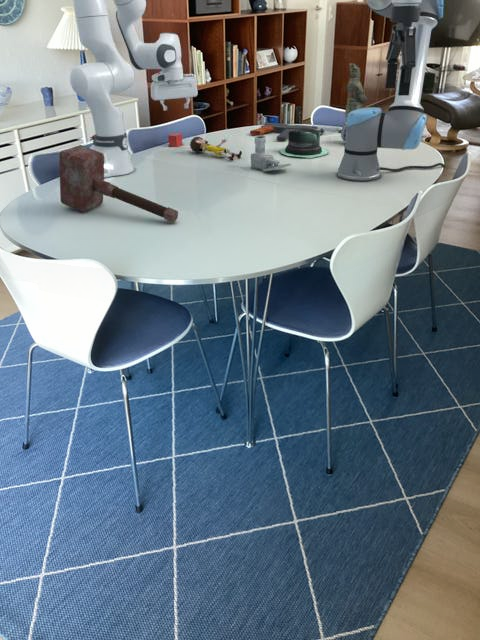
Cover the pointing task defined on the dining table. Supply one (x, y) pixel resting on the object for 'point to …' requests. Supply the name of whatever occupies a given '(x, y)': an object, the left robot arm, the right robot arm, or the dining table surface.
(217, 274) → the dining table surface
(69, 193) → the sledgehammer
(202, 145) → the figurine
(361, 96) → the statue
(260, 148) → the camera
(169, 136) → the block
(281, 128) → the submachine gun
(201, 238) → the dining table surface
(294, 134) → the dark green rounded hat
